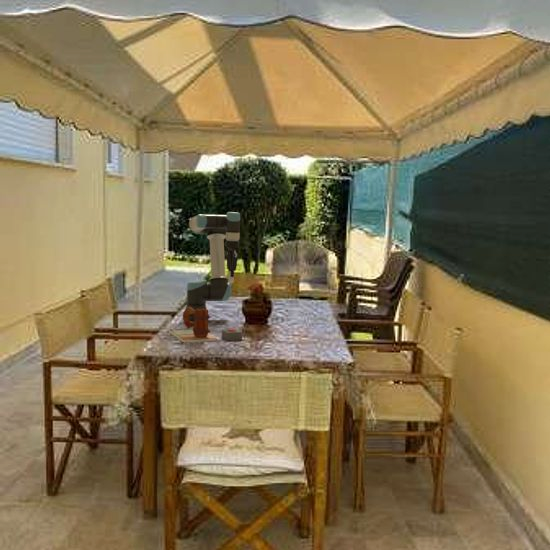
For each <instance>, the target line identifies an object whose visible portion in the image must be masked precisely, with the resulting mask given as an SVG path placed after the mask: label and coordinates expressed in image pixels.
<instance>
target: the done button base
mask: <svg viewBox="0 0 550 550" xmlns="http://www.w3.org/2000/svg"><path fill="white" fill-rule="evenodd" d="M228 329H229V328H228ZM228 329H221V338H222V339H224V340H225V341H240V340H242V337H243V336H242V335H243V331H241V330H239V329H237V328H234V329H235V332H229V331H228Z"/></svg>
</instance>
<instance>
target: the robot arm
mask: <svg viewBox="0 0 550 550" xmlns="http://www.w3.org/2000/svg"><path fill="white" fill-rule="evenodd" d="M188 227H189V229H190V230H191V231H192V232H193V233H196V234H199V235H206V238H207V239H208V240H209V251H210V252H209V255H210V274H211V275H210V276H211V277H210V278H209V279H208V281H207V279H194V280H190V281H188V282H187V285H186V306H185V309H186V308H187V307H192V308H193V309H194V310H196V309H208V308H207V302H227V301H228V300H229V299H231V295H232V283H233V284H234V283H235V271H237V265H238V258H239V253H238V252H237V248H240V241H239V240H240V233H241V232H240V231H241V229H240V228H241V213H240V212H233V211H228V212H226V214H203V213H202V214H201V213H200V214H197V215H195V216H193V217H191V218H190V220H189V221H188ZM225 240H226V241H225ZM224 241H225V243H224ZM225 247H226V248H227V251H225ZM225 256H226V257H225ZM225 259H226V261H225ZM225 263H226V265H225ZM226 269H227V270H228V277H227V276H226ZM193 315H194V314H191V315H189V320H190V321H193V322H195V318H194V316H193Z"/></svg>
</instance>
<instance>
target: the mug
mask: <svg viewBox="0 0 550 550" xmlns="http://www.w3.org/2000/svg"><path fill="white" fill-rule="evenodd" d="M191 314H194V315H193V316H194V318H195V321H193V322H192V320H189V315H191ZM210 318H211V316H210V314H209V309H208V308H207V309H196V310H194V309H193V308H192V307H187V308H186V307H185V309H184V311H183V313H182V319H183V323H184V325H185V327H186V328H188V329H191V328H192V330H193V334H194V336H196V337H206V336H208V333H211V331H210V329H209V319H210Z"/></svg>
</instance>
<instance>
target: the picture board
mask: <svg viewBox="0 0 550 550" xmlns="http://www.w3.org/2000/svg"><path fill="white" fill-rule="evenodd" d="M168 332H169V334H170V335H172V336H173V337H175V339H176V338H177V340H179V341H180V342H182V343H183V342H184V343H186V342H187V343H201V342H216V341H217V342H218V341H219V338H218V337H217V336H214V335H213V334H211V332H209V333H208V336H206V337H196V336H194V334H193V329H182V330H181V329H180V330H179V329H176V330H169V331H168Z"/></svg>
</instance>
